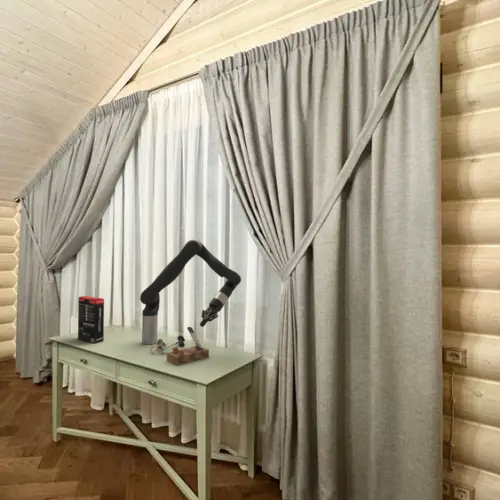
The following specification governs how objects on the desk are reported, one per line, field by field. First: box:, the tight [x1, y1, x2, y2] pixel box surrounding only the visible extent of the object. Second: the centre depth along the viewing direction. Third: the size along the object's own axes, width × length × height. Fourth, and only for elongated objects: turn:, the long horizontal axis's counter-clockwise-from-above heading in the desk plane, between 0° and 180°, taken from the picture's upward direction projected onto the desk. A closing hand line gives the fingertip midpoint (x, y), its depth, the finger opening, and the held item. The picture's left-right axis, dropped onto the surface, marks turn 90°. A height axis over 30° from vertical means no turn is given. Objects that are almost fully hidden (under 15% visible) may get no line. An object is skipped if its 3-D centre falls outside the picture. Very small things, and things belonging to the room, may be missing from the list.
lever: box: [187, 326, 203, 349], centre depth 182 cm, size 14×3×1 cm
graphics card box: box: [77, 295, 105, 344], centre depth 210 cm, size 17×7×27 cm, turn 63°
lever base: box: [166, 345, 210, 366], centre depth 179 cm, size 20×10×7 cm, turn 135°
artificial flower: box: [149, 334, 186, 356], centre depth 194 cm, size 9×22×10 cm, turn 141°
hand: (201, 325), depth 185 cm, fingers closed
